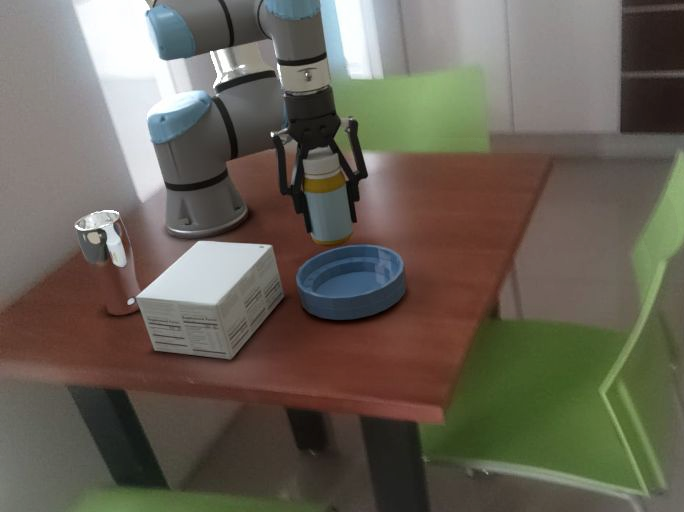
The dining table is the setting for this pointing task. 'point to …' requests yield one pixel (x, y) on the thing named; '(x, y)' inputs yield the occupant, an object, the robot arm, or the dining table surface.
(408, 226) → the dining table surface
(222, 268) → the supplement box
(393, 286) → the bowl
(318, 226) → the bottle
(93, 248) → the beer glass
